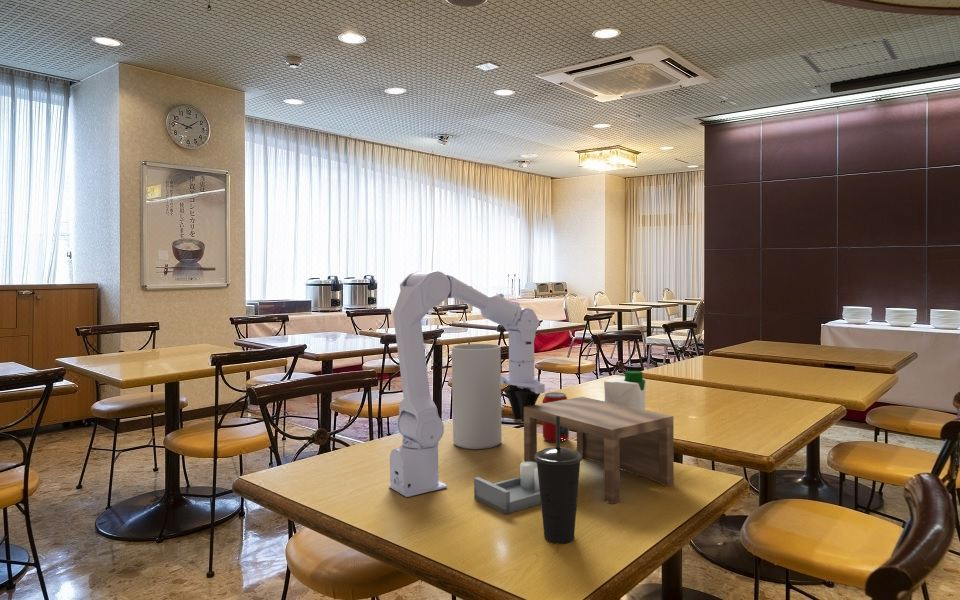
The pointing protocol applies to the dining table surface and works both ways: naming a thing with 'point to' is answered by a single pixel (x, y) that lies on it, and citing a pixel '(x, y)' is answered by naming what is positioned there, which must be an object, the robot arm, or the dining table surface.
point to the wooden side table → (610, 438)
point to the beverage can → (550, 428)
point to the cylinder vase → (476, 395)
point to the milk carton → (626, 390)
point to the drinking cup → (558, 489)
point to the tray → (511, 490)
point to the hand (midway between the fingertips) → (522, 420)
